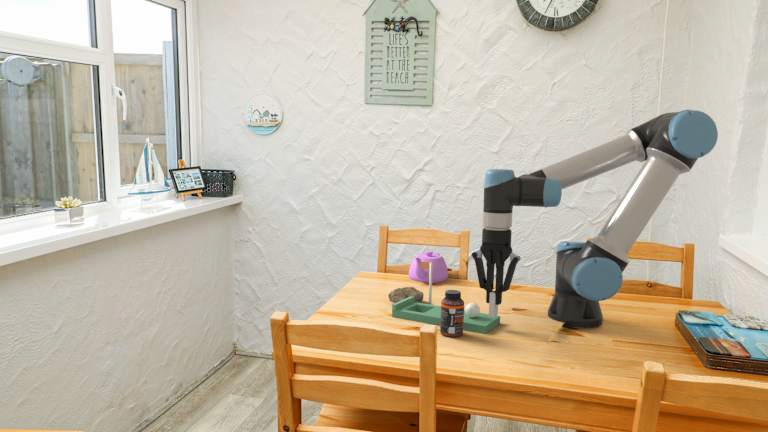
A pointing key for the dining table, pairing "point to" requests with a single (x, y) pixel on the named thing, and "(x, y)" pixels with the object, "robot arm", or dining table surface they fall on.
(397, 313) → the green
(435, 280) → the teapot
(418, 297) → the rock
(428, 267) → the pin
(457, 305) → the supplement bottle
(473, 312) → the ball
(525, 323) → the dining table surface
